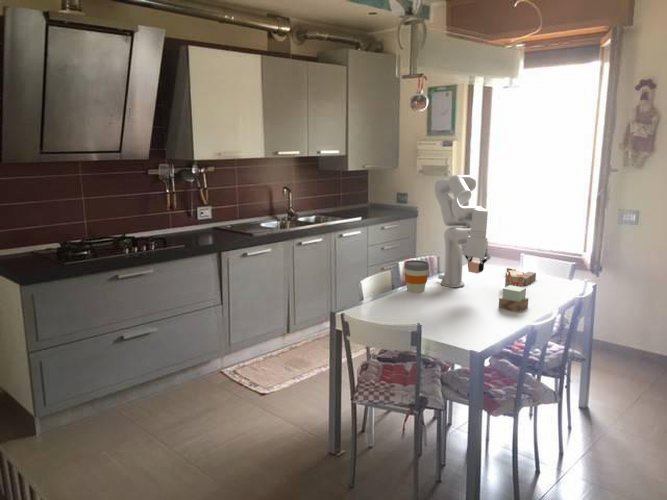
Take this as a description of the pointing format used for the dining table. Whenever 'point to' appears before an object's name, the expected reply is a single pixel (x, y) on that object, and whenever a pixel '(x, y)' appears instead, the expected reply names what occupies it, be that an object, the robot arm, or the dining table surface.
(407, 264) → the reusable coffee cup
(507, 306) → the walnut tower base
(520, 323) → the dining table surface
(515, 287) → the sage tower block
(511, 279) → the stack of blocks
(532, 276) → the wooden block set
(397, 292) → the dining table surface
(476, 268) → the terracotta cube
